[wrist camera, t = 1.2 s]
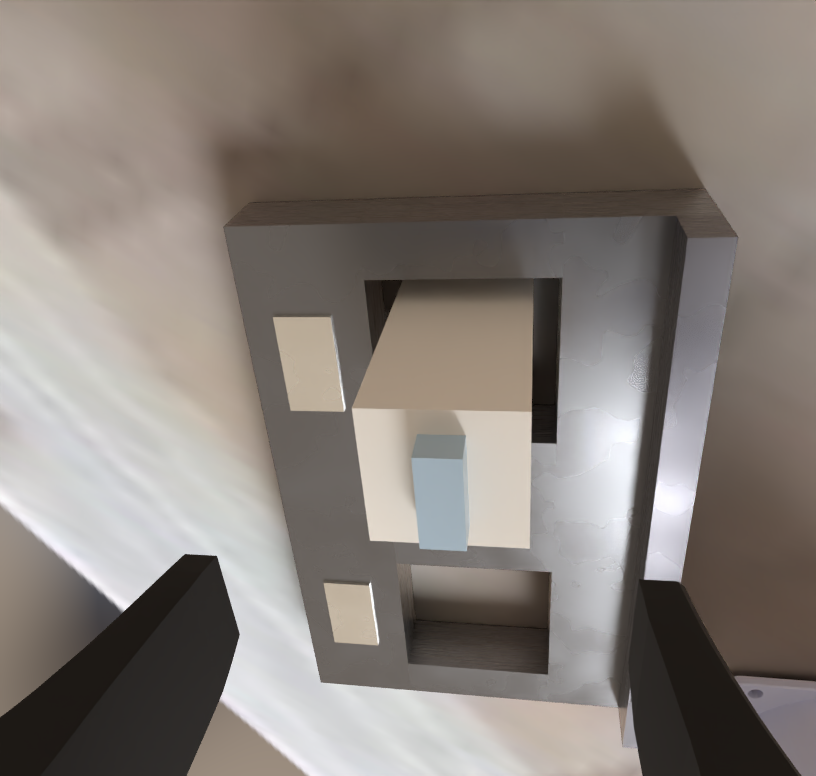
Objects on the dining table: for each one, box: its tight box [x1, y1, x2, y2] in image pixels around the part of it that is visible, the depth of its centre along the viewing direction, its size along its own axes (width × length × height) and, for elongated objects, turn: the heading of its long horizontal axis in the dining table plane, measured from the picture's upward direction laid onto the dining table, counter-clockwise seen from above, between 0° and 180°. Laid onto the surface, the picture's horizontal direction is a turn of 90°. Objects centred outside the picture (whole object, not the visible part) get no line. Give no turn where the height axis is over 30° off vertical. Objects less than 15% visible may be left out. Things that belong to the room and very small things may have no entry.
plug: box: [352, 278, 534, 551], centre depth 18 cm, size 4×4×8 cm
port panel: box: [223, 189, 738, 748], centre depth 22 cm, size 12×18×4 cm, turn 5°
